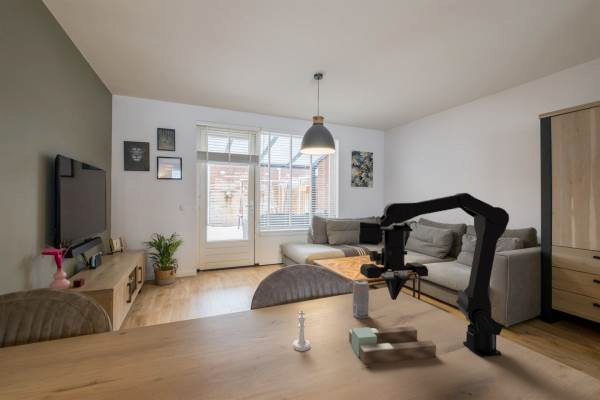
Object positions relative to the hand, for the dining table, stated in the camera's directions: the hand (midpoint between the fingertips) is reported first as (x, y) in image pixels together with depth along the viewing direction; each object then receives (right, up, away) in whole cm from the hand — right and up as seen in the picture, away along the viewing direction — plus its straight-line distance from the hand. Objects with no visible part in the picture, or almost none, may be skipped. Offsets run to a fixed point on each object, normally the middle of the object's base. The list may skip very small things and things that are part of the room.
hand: (393, 299), depth 78 cm
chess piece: (-27, -12, -4) cm, 30 cm away
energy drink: (-6, -12, +16) cm, 21 cm away
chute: (-2, -12, -4) cm, 13 cm away
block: (-10, -12, -6) cm, 17 cm away
